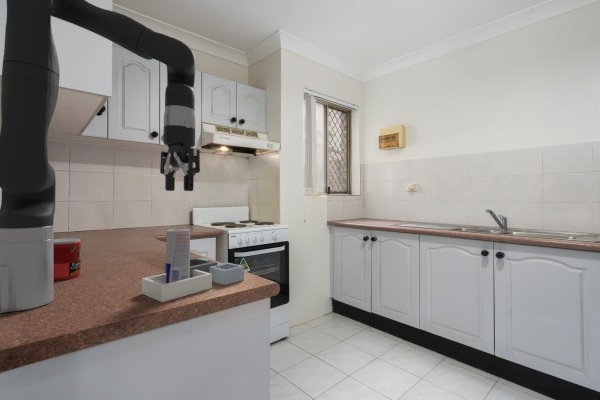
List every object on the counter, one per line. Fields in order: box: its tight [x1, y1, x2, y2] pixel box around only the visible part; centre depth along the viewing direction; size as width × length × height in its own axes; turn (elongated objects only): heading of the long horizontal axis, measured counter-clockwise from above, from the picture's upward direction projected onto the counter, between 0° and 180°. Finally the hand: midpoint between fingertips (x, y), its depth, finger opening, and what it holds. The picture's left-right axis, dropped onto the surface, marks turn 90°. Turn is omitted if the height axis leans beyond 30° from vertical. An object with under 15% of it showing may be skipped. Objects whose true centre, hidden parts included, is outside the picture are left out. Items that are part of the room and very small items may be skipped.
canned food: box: [53, 237, 82, 282], centre depth 88 cm, size 8×8×11 cm
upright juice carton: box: [165, 228, 191, 284], centre depth 77 cm, size 6×6×15 cm
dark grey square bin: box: [164, 257, 218, 278], centre depth 89 cm, size 10×10×5 cm
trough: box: [141, 269, 213, 303], centre depth 77 cm, size 14×10×4 cm
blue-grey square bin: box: [209, 262, 245, 286], centre depth 87 cm, size 7×7×4 cm
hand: (178, 190), depth 76 cm, fingers open, 8 cm apart
